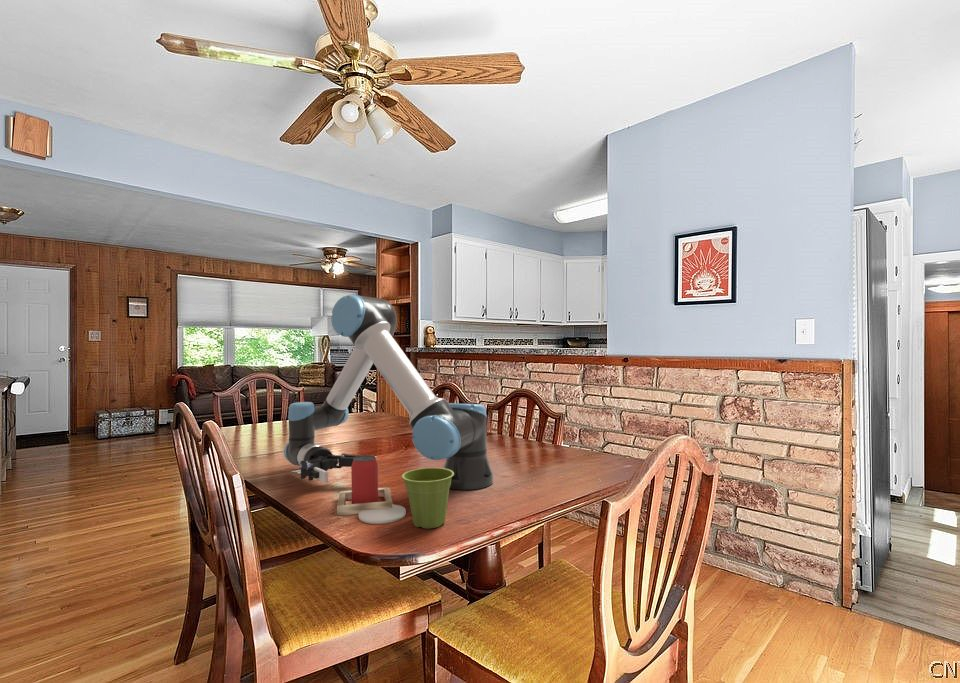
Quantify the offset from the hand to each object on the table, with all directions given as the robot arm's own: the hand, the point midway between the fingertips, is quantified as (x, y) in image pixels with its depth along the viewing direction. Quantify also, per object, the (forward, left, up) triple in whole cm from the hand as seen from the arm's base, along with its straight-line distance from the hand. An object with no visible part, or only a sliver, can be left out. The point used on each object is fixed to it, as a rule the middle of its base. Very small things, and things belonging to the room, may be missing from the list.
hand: (351, 472), depth 129 cm
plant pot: (-18, +23, -7) cm, 29 cm away
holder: (-4, +6, -7) cm, 10 cm away
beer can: (-4, +6, -7) cm, 10 cm away
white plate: (-8, +15, -7) cm, 18 cm away
